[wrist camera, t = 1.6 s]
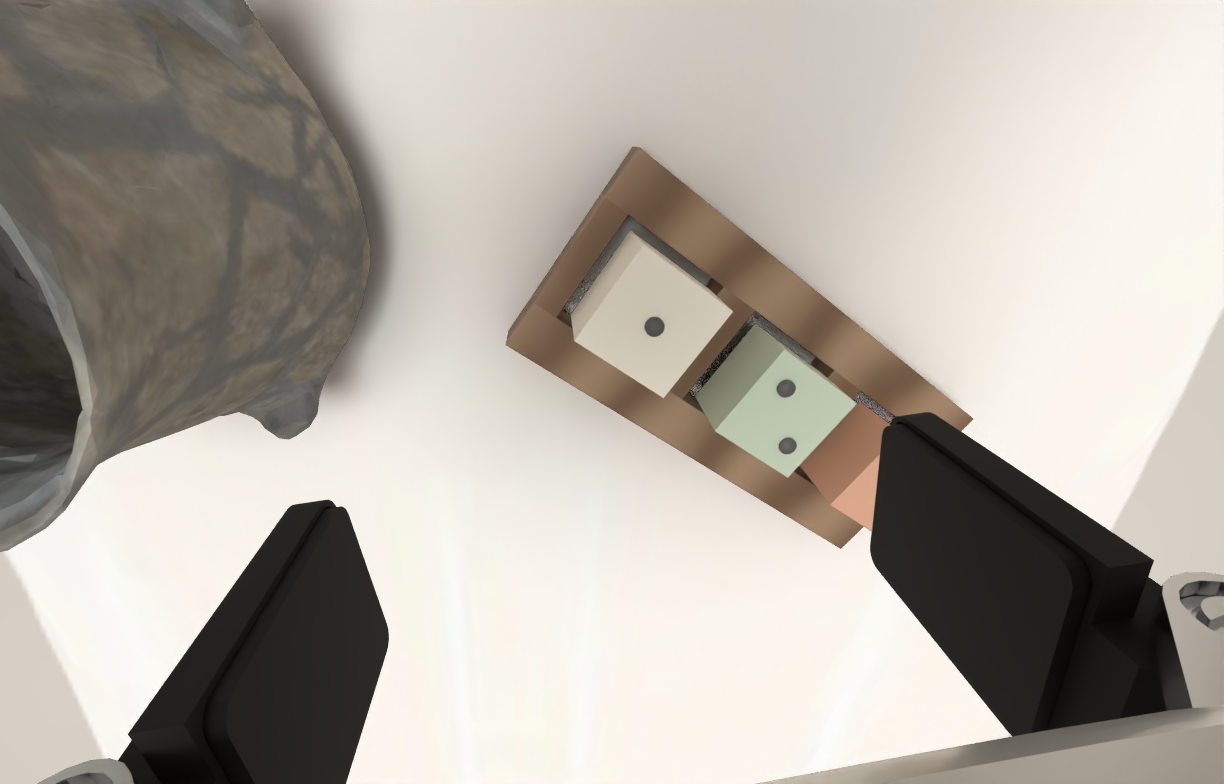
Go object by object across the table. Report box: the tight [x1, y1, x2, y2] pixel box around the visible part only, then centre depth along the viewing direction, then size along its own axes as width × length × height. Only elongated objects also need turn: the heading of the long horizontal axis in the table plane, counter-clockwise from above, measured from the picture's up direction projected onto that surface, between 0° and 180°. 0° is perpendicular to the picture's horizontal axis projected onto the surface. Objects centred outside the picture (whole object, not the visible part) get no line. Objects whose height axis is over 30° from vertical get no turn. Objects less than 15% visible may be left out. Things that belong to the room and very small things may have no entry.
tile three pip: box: [800, 401, 890, 531], centre depth 37 cm, size 6×6×5 cm
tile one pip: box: [571, 230, 733, 398], centre depth 30 cm, size 6×6×5 cm
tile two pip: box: [695, 324, 857, 478], centre depth 34 cm, size 6×6×5 cm
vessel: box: [0, 0, 370, 552], centre depth 22 cm, size 22×22×20 cm
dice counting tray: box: [506, 147, 973, 549], centre depth 37 cm, size 29×13×2 cm, turn 54°
